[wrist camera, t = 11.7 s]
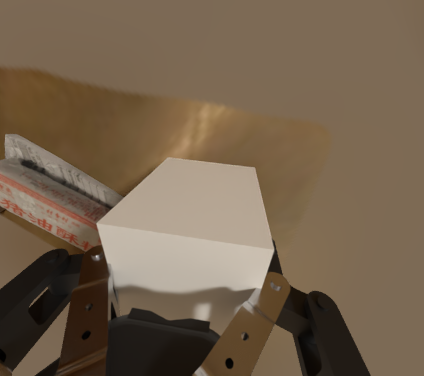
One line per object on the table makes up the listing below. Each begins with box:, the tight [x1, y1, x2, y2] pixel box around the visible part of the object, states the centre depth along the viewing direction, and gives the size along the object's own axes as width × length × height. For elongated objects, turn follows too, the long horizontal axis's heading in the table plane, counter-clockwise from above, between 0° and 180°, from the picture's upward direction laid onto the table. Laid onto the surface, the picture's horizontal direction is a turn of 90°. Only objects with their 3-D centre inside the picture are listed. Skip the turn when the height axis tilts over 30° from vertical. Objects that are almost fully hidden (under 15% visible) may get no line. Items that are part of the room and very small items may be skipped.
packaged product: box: [0, 134, 124, 251], centre depth 23 cm, size 18×5×10 cm
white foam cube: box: [96, 157, 274, 336], centre depth 13 cm, size 7×7×9 cm
